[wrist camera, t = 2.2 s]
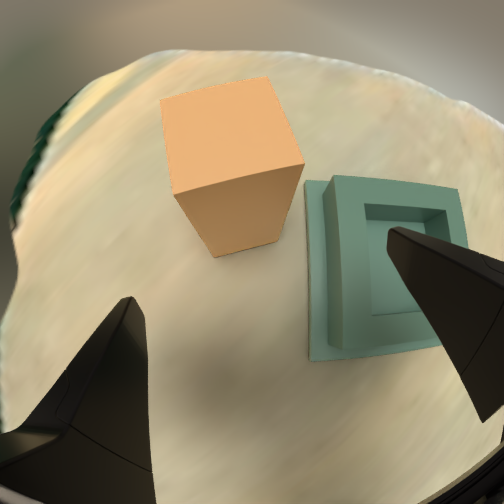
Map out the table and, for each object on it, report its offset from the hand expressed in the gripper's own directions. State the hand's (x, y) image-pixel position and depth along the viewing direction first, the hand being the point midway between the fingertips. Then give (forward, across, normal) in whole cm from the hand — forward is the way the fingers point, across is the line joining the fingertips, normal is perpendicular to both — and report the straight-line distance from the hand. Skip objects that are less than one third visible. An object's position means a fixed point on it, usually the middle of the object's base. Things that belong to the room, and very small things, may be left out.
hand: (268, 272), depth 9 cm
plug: (+13, 0, +4) cm, 14 cm away
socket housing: (+8, -11, +9) cm, 16 cm away
